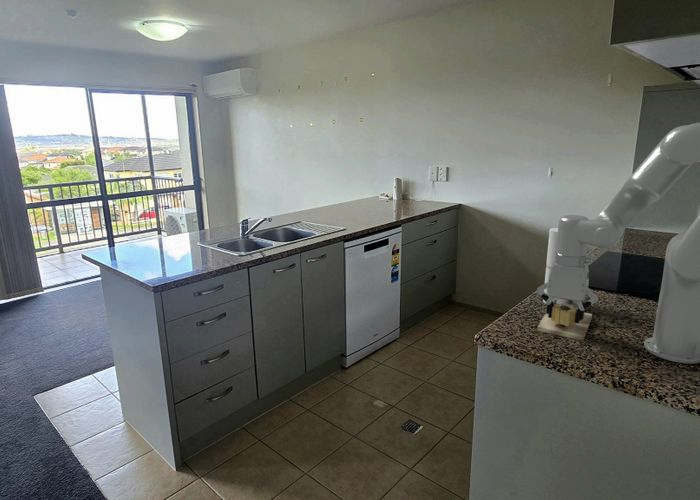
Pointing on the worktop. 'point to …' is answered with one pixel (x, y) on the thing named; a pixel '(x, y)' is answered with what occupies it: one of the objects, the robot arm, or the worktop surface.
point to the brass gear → (564, 315)
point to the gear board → (566, 330)
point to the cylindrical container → (551, 255)
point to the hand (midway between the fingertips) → (563, 318)
